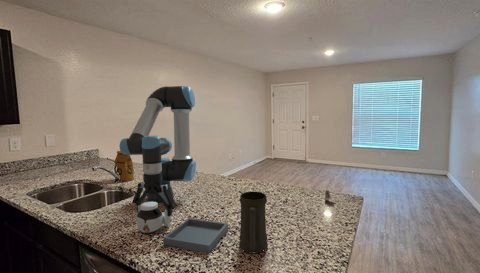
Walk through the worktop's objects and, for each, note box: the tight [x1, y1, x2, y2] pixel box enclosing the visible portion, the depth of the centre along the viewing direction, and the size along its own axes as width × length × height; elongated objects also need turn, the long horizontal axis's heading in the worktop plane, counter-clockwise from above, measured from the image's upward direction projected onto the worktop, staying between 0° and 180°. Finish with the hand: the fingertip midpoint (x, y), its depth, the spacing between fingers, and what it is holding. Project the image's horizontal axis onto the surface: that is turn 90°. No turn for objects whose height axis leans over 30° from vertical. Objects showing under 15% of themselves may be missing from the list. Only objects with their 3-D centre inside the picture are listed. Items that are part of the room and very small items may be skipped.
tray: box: [162, 217, 229, 254], centre depth 103 cm, size 19×19×3 cm
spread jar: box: [136, 201, 171, 236], centre depth 110 cm, size 12×11×12 cm
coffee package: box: [114, 150, 135, 183], centre depth 190 cm, size 10×12×22 cm
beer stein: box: [238, 191, 269, 253], centre depth 93 cm, size 15×11×20 cm
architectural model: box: [324, 189, 333, 203], centre depth 140 cm, size 3×7×7 cm, turn 157°
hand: (154, 221), depth 110 cm, fingers open, 13 cm apart
